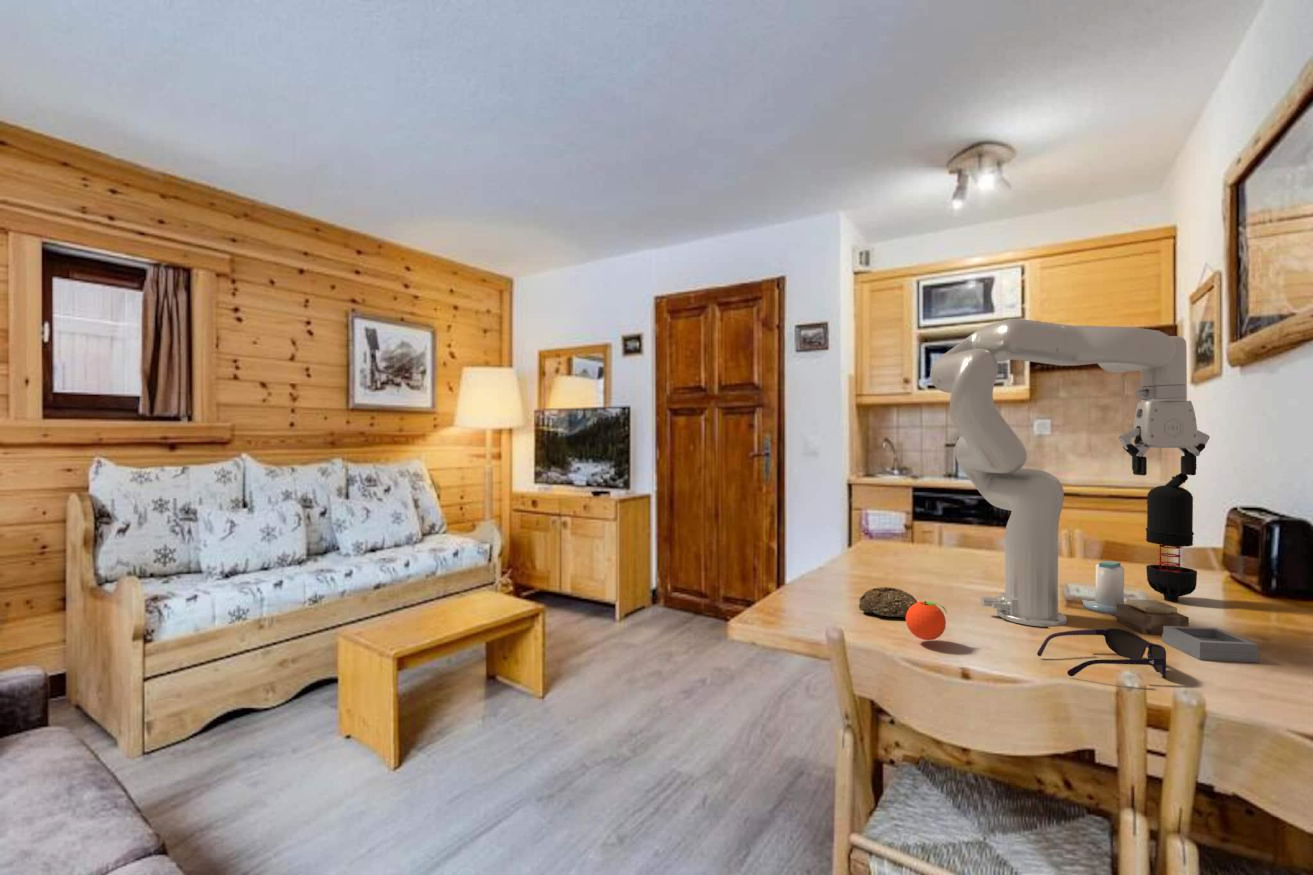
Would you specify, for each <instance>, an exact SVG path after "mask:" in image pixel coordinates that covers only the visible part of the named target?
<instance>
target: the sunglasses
mask: <svg viewBox="0 0 1313 875" xmlns="http://www.w3.org/2000/svg"><path fill="white" fill-rule="evenodd" d="M1062 636H1063V637H1064V636H1104V640H1105V643H1106V645H1107V646H1108V648H1109V650H1112V652H1114V653H1115V654H1116V655H1118V656H1121V657H1122V658H1123V659H1107V658H1106V659H1101V658H1100V659H1092V660H1086V661H1084V662H1081V663H1079V664H1078V665H1076V666H1074V667H1072V668H1069V669H1068V670H1067V675H1068V676H1069V677H1074V676H1075V675H1077V674H1078V673H1079V672H1081V671H1082V670H1084V669H1086V668H1087V667H1089V666H1092V665H1096V664H1097V665H1099V664H1101V665H1102V664H1104V665H1105V664H1108V665H1109V664H1110V665H1112V664H1113V665H1137V666H1138V665H1139V666H1140V665H1141V666H1152V668H1153V669H1154V671H1155V672H1156V673H1159V674H1161V676H1160V677H1161V678H1162V679H1163V678H1164V679H1165V678H1166V677H1167V650H1166V648H1165V647H1164V646H1163V645H1161V644H1157V643H1152V642H1150V641H1148V640H1146V639H1145V638H1143V637H1141V636H1140V635H1138V634H1136V633H1134V632H1132V631H1130V630H1127V629H1122V628H1119V627H1117V628H1116V627H1110V628H1109V627H1108V628H1106V629H1104V628H1102V629H1101V628H1100V629H1077V630H1074V629H1073V630H1068V631H1067V630H1066V631H1060V632H1055V633H1052V634H1049V635H1048V636H1047V637H1046V638H1045V639H1044V641H1043V643H1042V644H1041V646H1040V648H1039V649H1038V651H1037V653H1036V654H1037V656H1038V657H1042V656H1043V653H1044V651H1045V649H1046V647H1047V645H1048V643H1049V642H1050V641H1051V640H1052V639H1054V638H1058V637H1062ZM1147 648H1148V651H1147V650H1146V649H1147ZM1146 651H1147V655H1146V656H1147V658H1143V657H1144V655H1145V653H1146ZM1124 658H1125V659H1124Z"/></svg>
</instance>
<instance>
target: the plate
mask: <svg viewBox="0 0 1313 875" xmlns="http://www.w3.org/2000/svg"><path fill="white" fill-rule="evenodd" d="M1082 602H1083V605H1082V607H1083V608H1084V609H1087V610H1088V611H1091V612H1096V613H1099V614H1100V613H1101V614H1106V615H1110V616H1111V615H1112V616H1116V607H1114V606H1106V605H1102V604H1099V603H1096V602H1095V601H1087V600H1083V599H1082Z"/></svg>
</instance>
